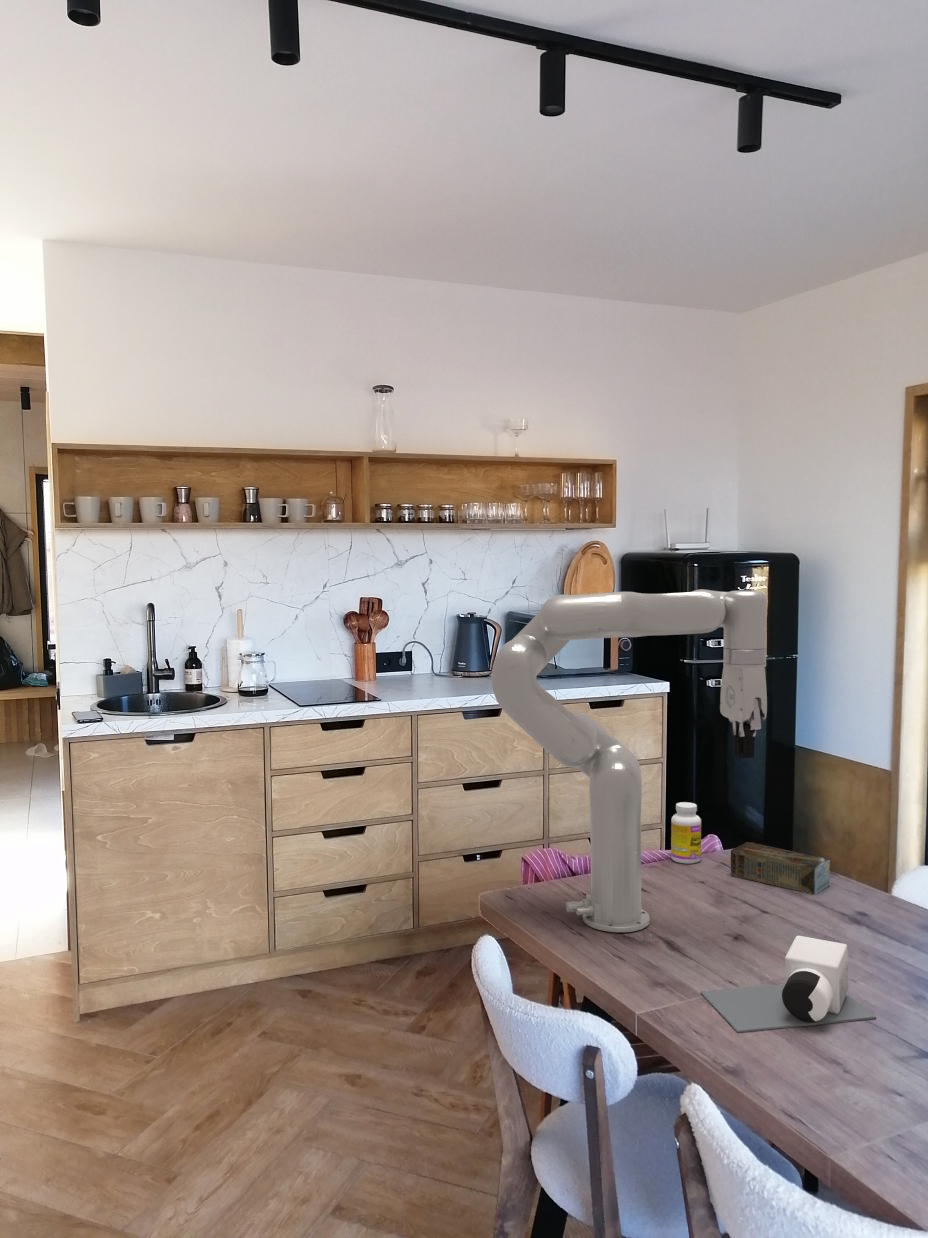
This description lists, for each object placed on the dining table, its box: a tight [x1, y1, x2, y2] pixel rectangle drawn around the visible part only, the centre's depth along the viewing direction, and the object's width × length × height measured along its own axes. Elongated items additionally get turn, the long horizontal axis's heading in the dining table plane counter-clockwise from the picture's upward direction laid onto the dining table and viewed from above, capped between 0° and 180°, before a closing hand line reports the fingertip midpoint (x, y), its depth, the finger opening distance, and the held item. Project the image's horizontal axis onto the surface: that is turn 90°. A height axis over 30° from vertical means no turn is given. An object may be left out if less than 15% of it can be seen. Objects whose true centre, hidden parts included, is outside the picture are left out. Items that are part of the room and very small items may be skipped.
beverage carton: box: [730, 841, 831, 895], centre depth 204 cm, size 8×19×7 cm, turn 47°
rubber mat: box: [700, 983, 877, 1034], centre depth 147 cm, size 22×13×1 cm, turn 100°
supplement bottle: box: [670, 801, 702, 865], centre depth 219 cm, size 7×7×13 cm
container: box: [782, 935, 849, 1022], centre depth 146 cm, size 8×8×13 cm
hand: (744, 757), depth 177 cm, fingers closed
